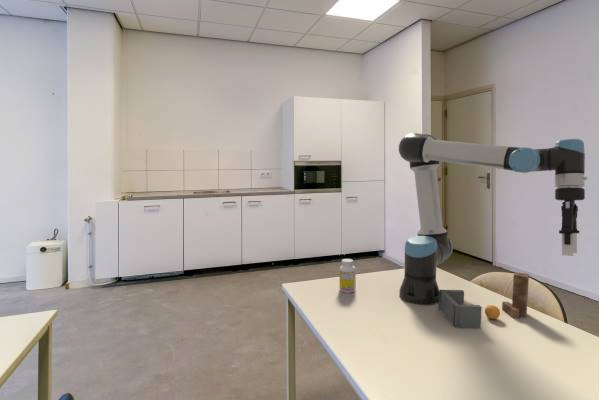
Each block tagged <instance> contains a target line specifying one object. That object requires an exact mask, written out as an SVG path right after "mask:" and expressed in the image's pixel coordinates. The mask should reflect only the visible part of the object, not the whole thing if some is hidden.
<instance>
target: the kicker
mask: <svg viewBox="0 0 599 400" xmlns="http://www.w3.org/2000/svg"><path fill="white" fill-rule="evenodd" d="M512 278H513V279H512V280H513V281H512V282H513V283H512V303H511V302H509V301H502V303H501V308H502V309H501V310H502V311H503V312H504V313H505V314H507V315H508V316H509V317H510V318H511V319H519V318H521V317H522V318H526V317H527V314H528V300H529V299H528V297H529V296H528V295H529V281H530V280H529V278H530V274H528V273H523V272H516V271H515V272H514V274H513V277H512Z"/></svg>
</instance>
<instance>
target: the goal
mask: <svg viewBox="0 0 599 400" xmlns="http://www.w3.org/2000/svg"><path fill="white" fill-rule="evenodd" d="M464 302H465V291H464V290H463V289H439V302H438V309H439V311H441V313H442V314H443V315H444V316H445V318H446V319H447V320H448V322H449V323H450V324H451V325H452V326H453V328H456V329H458V328H459V329H481V328H482V327H481V326H482V306H481V305H480V304H464Z"/></svg>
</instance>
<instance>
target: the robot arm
mask: <svg viewBox="0 0 599 400" xmlns="http://www.w3.org/2000/svg"><path fill="white" fill-rule="evenodd" d="M398 154H399V155H400V157H401V158H402V159H403V160H405V161H406V162H408V163H409V169H410V170H411V171H412V172H413V173H414V178H415V188H416V190H415V191H416V197H417V207H418V213H419V214H418V216H419V226H420V229H419V231H417V236H415V235H414V236H410V237H408V238H407V239H406V241H405V243H404V244H405V245H404V277H403V280H402V283H401V286H400V288H399V298H400V299H402V300H403V301H405V302H408V303H411V304H415V305H425V306H427V305H429V306H430V305H435V304H439V290H440V288H439V285H438V282H437V266H439V265H440V264H442V263H444V262H447V260H448V259H449V258H450V257H451V255H452V253H453V250H454V249H453V242H452V241H451V239H450V238H449V237H448V230H447V229H446V228H445V227H444V226H443V220H442V210H441V201H440V200H441V199H440V193H439V192H440V191H439V183H438V182H439V181H438V176H437V175H438V174H437V169H438V167H440V166H441V165H440V162H441V163H442V162H443V163H450V164H451V163H452V164H459V165H465V166H467V165H468V166H474V167H475V166H476V167H481V168H482V167H483V168H490V169H498V170H506V171H512V172H515V173H523V174H527V173H530V172H531V173H532V172H544V171H545V172H546V171H549V172H550V171H554V187H555V188H556V189H555V190H554V199H555V200H556V201H562V203H561V204H562V205H561V229H560V230H558V233H559V234H561V255H562V256H565V257H566V256H567V257H569V256H570V257H574V254H577V253H578V234H580V230H578V224H577V223H578V221H577V218H578V211H579V206H578V205H577V203H575V202H576V201H583V200H585V198H586V196H585V194H586V190H585V188H584V187H585V181H587V180H588V177H587V176H585V170H586V168H585V164H586V163H585V158H586V157H585V156H586V155H585V154H586V153H585V142H584V141H583V140H582V139H579V138H567V139H561V140H557V141H556V142H555V143H554V147H550V148H535V149H534V148H531V147H518V146H509V145H508V146H506V145H495V144H485V143H483V144H482V143H474V142H473V143H471V142H465V141H464V142H463V141H451V140H443V139H442V140H441V139H437V138H436V137H435V136H433V135H430V134H426V133H425V134H423V133H417V132H412V133H409V134H406V135H405V136H404V137H402V139H401V140H400V141H399V144H398Z"/></svg>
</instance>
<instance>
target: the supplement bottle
mask: <svg viewBox="0 0 599 400" xmlns="http://www.w3.org/2000/svg"><path fill="white" fill-rule="evenodd" d="M341 264H342V265H340V267H339V290H340V291H341V292H342V293H348V294H349V293H350V294H351V293H353V292H355V291H356V289H357V288H356V287H357V286H356V280H357V278H356V277H357V275H356V271H357V269H356V266H354V260H353V259H352V258H343V259H341Z"/></svg>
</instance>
